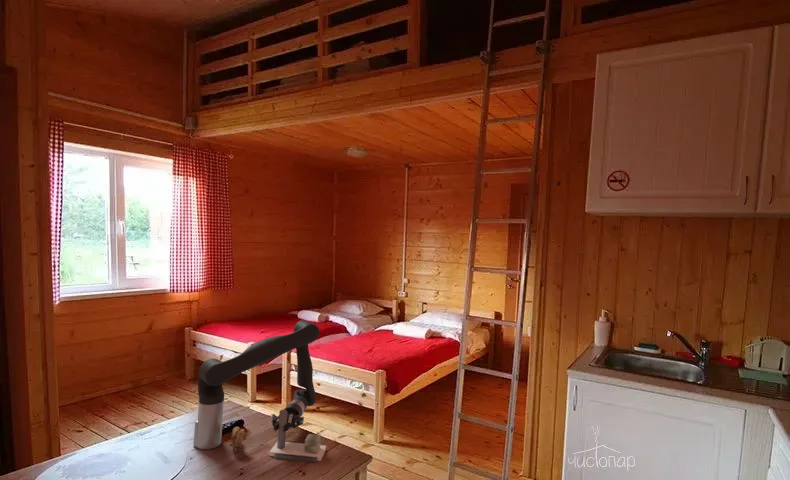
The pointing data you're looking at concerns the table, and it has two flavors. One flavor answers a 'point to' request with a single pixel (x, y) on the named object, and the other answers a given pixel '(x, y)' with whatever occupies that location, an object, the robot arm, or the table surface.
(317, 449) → the block
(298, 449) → the base with upright peg
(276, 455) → the guide rails
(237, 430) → the lion figurine
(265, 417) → the table surface
